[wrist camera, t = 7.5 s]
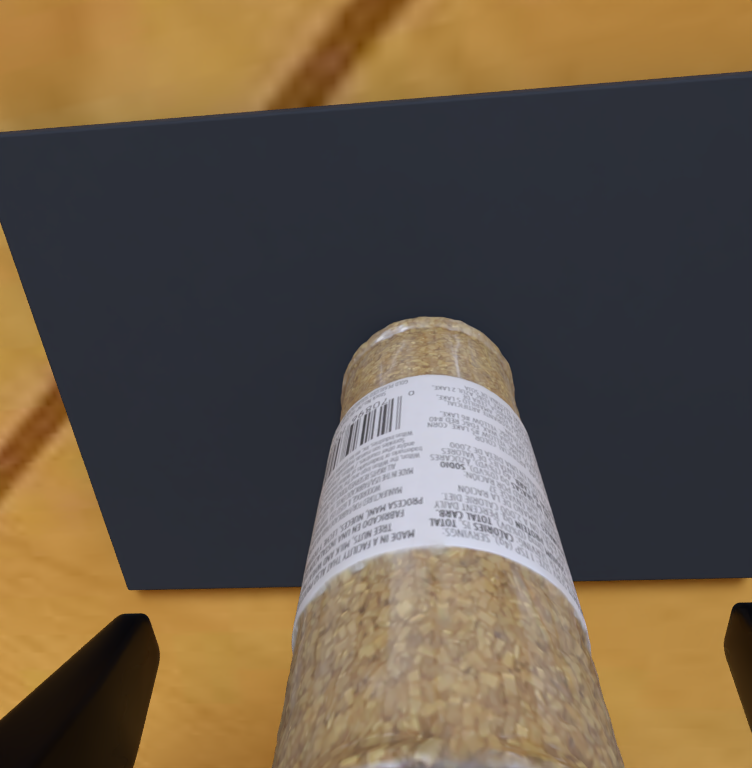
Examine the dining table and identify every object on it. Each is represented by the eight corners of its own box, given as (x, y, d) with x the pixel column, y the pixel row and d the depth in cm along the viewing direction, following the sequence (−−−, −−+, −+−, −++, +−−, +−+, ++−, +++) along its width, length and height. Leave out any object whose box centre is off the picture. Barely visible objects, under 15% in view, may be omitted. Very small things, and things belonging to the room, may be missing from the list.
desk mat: (753, 560, 20) (765, 578, 19) (136, 573, 22) (127, 591, 21) (882, 60, 14) (908, 60, 13) (-11, 132, 15) (-32, 136, 14)
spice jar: (400, 485, 18) (376, 1293, 6) (307, 363, 17) (42, 1149, 5) (545, 413, 17) (858, 1266, 5) (461, 273, 15) (628, 1051, 3)
